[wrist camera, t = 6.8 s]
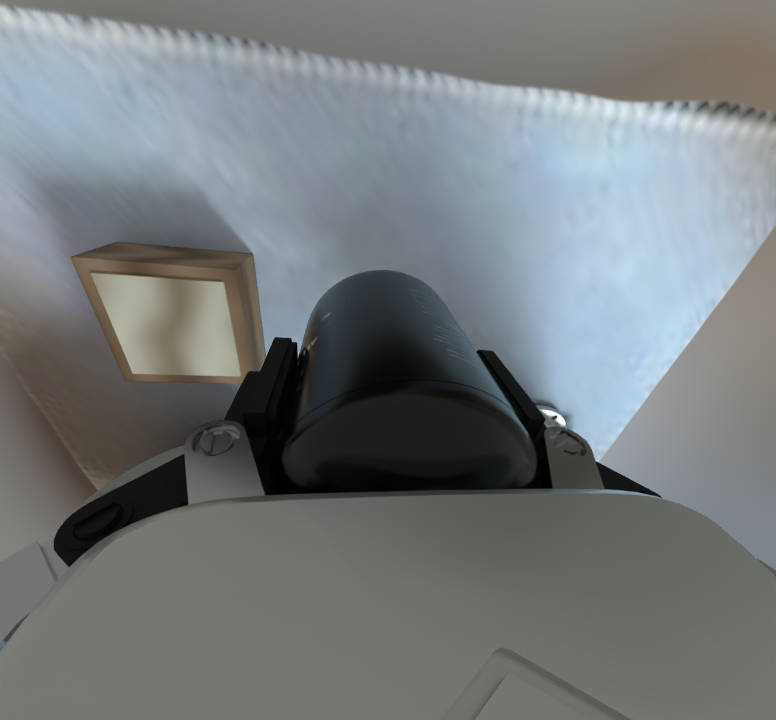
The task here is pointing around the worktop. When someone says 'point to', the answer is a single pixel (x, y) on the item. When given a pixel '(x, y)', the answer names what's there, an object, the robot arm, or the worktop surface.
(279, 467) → the supplement bottle
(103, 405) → the worktop surface
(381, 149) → the worktop surface
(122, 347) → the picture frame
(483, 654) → the robot arm
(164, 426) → the worktop surface
